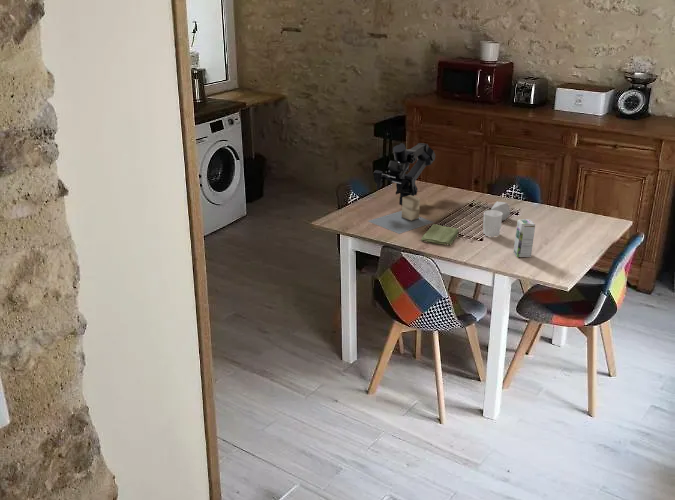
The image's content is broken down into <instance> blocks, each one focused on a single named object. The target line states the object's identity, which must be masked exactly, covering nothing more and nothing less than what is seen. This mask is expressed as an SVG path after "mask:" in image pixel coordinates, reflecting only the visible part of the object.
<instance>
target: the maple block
mask: <svg viewBox="0 0 675 500" xmlns="http://www.w3.org/2000/svg"><path fill="white" fill-rule="evenodd" d="M420 202H421V198H420V197H418V196H416V195H414V196H412V195H408V196H405V197H402V205H401V211H402V218H403V219H405V220H408V221H411V222H412V221H415V220H418V219H419V217H420V207H421V203H420Z"/></svg>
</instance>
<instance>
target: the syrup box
mask: <svg viewBox="0 0 675 500" xmlns="http://www.w3.org/2000/svg"><path fill="white" fill-rule="evenodd" d="M535 231H536V223H534V221H532V219H526V218H522V219H517V223H516V231H515V237H514V243H513V244H514V245H513V254H514V253H515V254H514V255H515V257H516V258H517V257H530V258H532V252H533V247H534V246H533V244H534V237H535Z"/></svg>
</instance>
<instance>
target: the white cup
mask: <svg viewBox="0 0 675 500" xmlns="http://www.w3.org/2000/svg"><path fill="white" fill-rule="evenodd" d="M502 215H503V213H502V212H500V211H496V210H491V209H488V210H485V211H483V223H482V224H483V225H482V227H483V232H482V233H483V234H485V235H486V236H491V237H494V236H498V235H499V236H500V232H501V231H500V230H501V227H502V221H503V220H502ZM483 234H482V235H483ZM486 236H485V237H486ZM499 236H498V237H499ZM491 237H490V238H491Z"/></svg>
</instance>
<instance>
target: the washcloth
mask: <svg viewBox="0 0 675 500" xmlns="http://www.w3.org/2000/svg"><path fill="white" fill-rule="evenodd" d="M458 234H459V228H456V227H451V226H444V225H440V224H435V223H432V225H431V226H430V227H429V228H428V230H427V231H426V232H425V233H424V234H423V235H422V237H421V238H420V241H422V242H423V241H427V242H426V243H430V242H432V244H437V245H438V244H439V245H444V244H446V246H451V245H452V244H453V242H454V241H455V239H456V238H457V236H458ZM453 240H454V241H453ZM447 244H449V245H447ZM450 244H451V245H450Z"/></svg>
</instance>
